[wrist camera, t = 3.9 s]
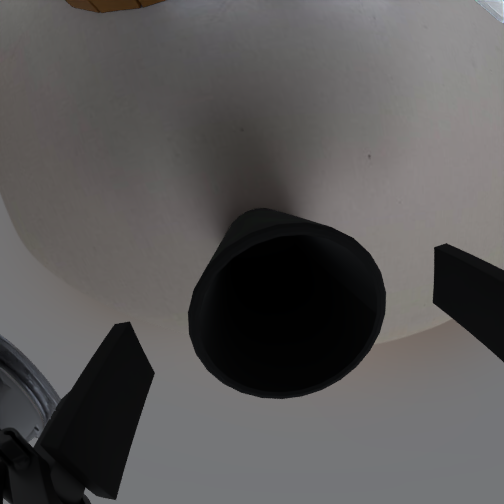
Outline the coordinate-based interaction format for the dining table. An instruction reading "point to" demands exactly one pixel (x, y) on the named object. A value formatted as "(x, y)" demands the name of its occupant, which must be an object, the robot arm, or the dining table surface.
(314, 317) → the cup
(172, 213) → the dining table surface
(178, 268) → the dining table surface
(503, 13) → the dish
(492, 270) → the robot arm
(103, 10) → the orange-brown segmented ring
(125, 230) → the dining table surface
